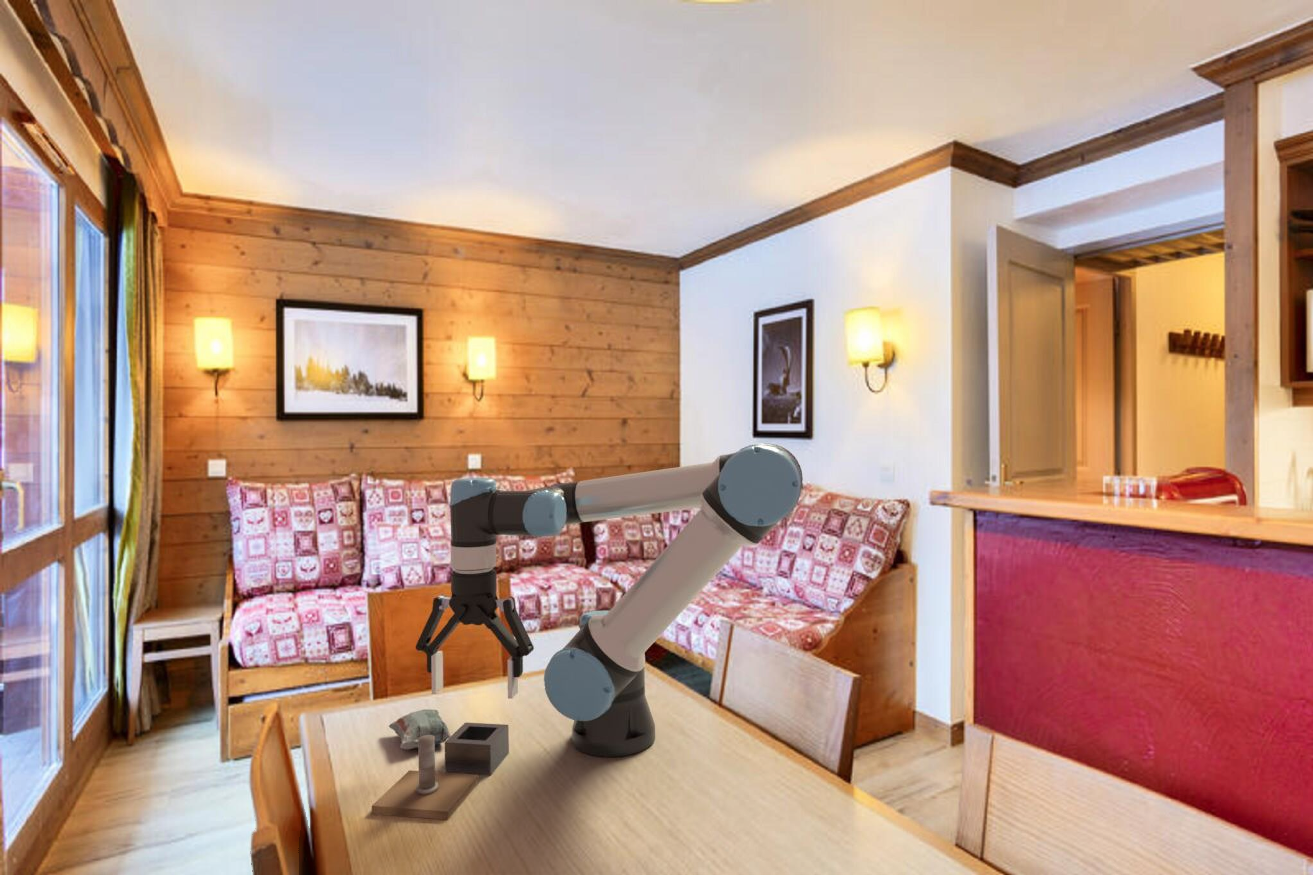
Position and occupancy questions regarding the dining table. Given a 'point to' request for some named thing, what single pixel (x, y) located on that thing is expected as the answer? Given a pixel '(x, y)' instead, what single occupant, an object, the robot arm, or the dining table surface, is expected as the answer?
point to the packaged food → (420, 728)
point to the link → (476, 748)
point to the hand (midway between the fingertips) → (474, 693)
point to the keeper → (426, 789)
